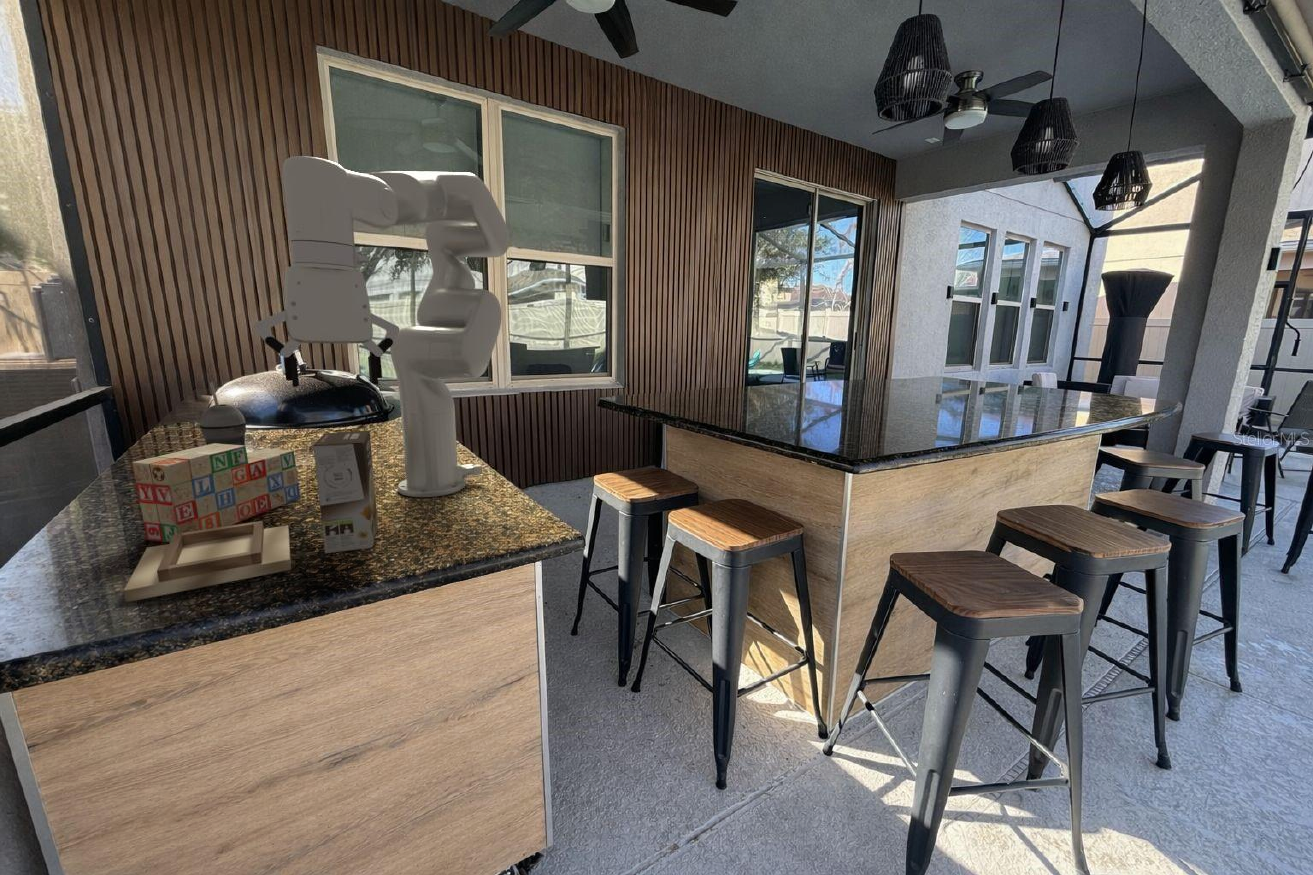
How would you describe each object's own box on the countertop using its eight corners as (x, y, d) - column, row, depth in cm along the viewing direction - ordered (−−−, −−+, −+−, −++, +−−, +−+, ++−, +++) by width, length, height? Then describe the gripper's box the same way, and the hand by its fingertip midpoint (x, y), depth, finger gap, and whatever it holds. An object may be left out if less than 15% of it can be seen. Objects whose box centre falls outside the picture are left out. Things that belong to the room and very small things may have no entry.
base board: (289, 534, 82) (286, 515, 82) (291, 569, 71) (288, 548, 71) (149, 557, 73) (145, 537, 73) (126, 602, 62) (121, 578, 62)
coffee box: (374, 548, 78) (364, 442, 75) (324, 554, 76) (311, 445, 72) (379, 526, 87) (370, 429, 83) (333, 531, 84) (322, 431, 81)
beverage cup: (235, 487, 103) (220, 384, 99) (198, 486, 103) (181, 383, 99) (263, 476, 110) (250, 380, 106) (228, 475, 110) (213, 379, 106)
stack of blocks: (272, 496, 100) (264, 431, 97) (301, 499, 98) (293, 434, 96) (145, 540, 79) (130, 460, 76) (180, 545, 78) (165, 464, 75)
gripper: (390, 267, 80) (397, 380, 84) (246, 255, 71) (261, 384, 74) (399, 263, 74) (407, 385, 78) (243, 249, 65) (260, 390, 68)
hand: (336, 384), depth 76 cm, fingers open, 9 cm apart
